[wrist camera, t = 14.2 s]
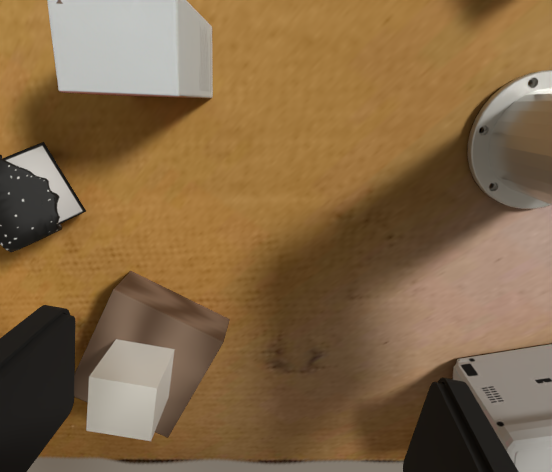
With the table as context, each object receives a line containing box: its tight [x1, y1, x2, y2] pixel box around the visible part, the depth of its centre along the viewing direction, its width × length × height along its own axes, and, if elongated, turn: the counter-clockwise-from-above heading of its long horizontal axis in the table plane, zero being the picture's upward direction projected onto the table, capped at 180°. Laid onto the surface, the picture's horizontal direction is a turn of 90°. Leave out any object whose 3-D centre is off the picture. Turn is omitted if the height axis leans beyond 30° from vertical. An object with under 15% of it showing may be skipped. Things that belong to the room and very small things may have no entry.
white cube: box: [86, 339, 175, 441], centre depth 40 cm, size 6×6×6 cm
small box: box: [47, 0, 213, 98], centre depth 31 cm, size 8×6×13 cm
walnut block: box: [74, 271, 230, 438], centre depth 45 cm, size 12×14×5 cm
